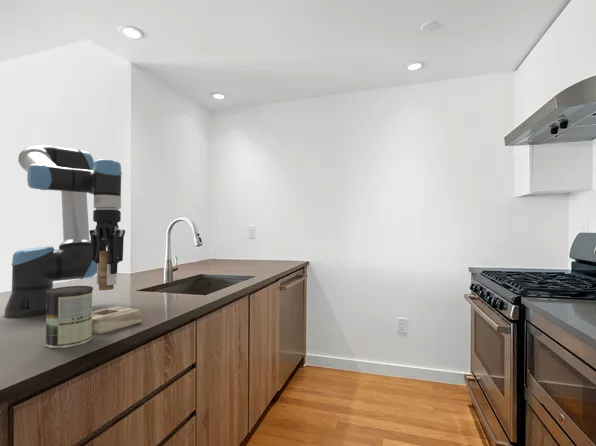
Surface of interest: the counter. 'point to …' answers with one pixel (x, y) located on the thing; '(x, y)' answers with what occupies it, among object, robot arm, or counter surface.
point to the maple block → (114, 319)
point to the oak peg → (103, 271)
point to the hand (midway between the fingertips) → (106, 283)
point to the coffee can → (68, 316)
